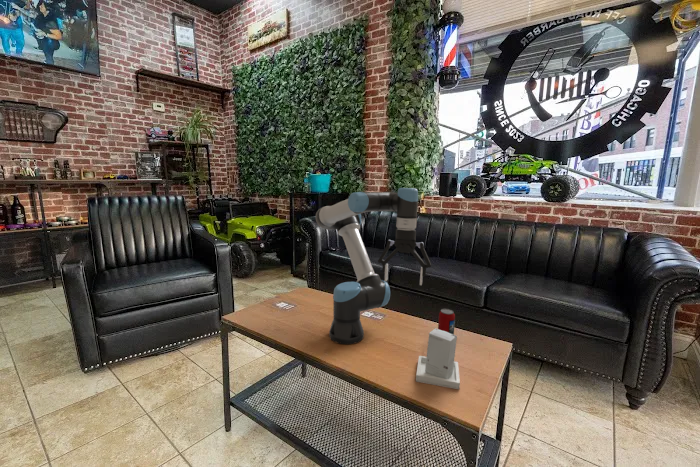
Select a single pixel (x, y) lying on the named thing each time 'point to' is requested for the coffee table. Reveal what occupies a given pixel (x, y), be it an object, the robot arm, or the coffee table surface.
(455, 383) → the tray
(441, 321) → the beverage can
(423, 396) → the coffee table surface
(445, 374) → the skincare box
